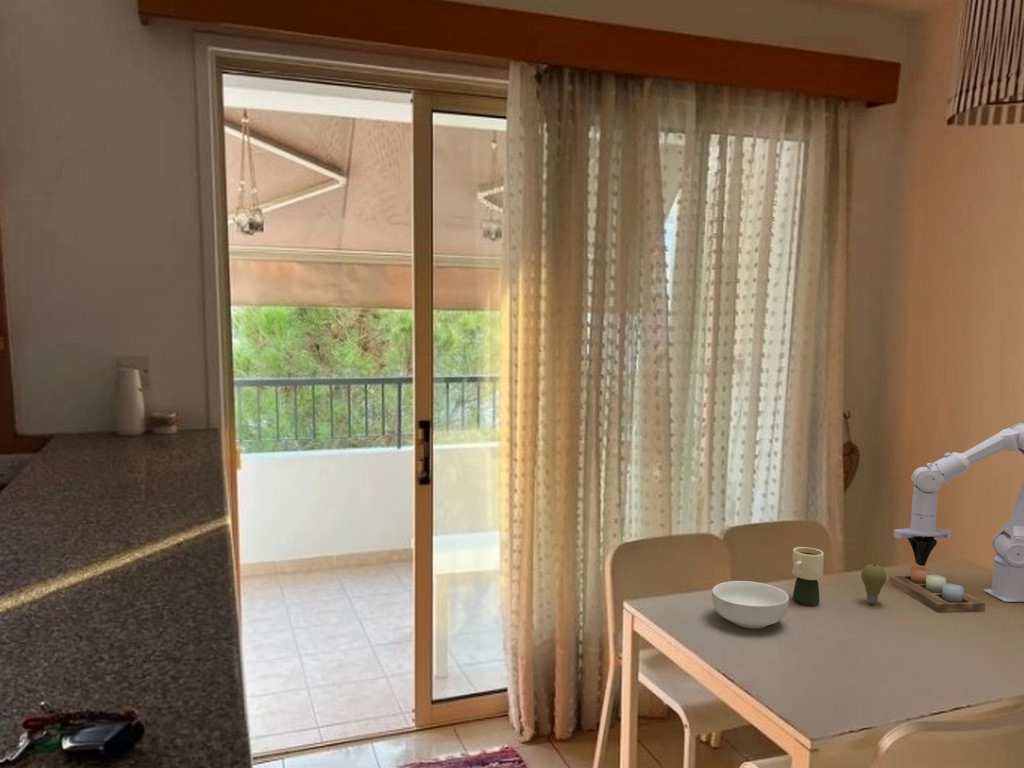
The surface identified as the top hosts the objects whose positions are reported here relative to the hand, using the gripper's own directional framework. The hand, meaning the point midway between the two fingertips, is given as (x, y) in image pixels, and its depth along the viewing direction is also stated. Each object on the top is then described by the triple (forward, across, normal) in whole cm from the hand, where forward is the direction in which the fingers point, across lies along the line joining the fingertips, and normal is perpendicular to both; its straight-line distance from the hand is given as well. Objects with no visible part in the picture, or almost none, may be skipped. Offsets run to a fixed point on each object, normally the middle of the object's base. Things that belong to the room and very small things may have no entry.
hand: (920, 564), depth 199 cm
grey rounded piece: (+5, 0, +13) cm, 14 cm away
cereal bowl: (+7, +54, +20) cm, 58 cm away
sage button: (+5, 0, +6) cm, 8 cm away
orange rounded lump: (+5, 0, 0) cm, 5 cm away
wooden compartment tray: (+6, 0, +6) cm, 9 cm away
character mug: (+6, +35, +8) cm, 37 cm away
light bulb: (+6, +19, +10) cm, 23 cm away
